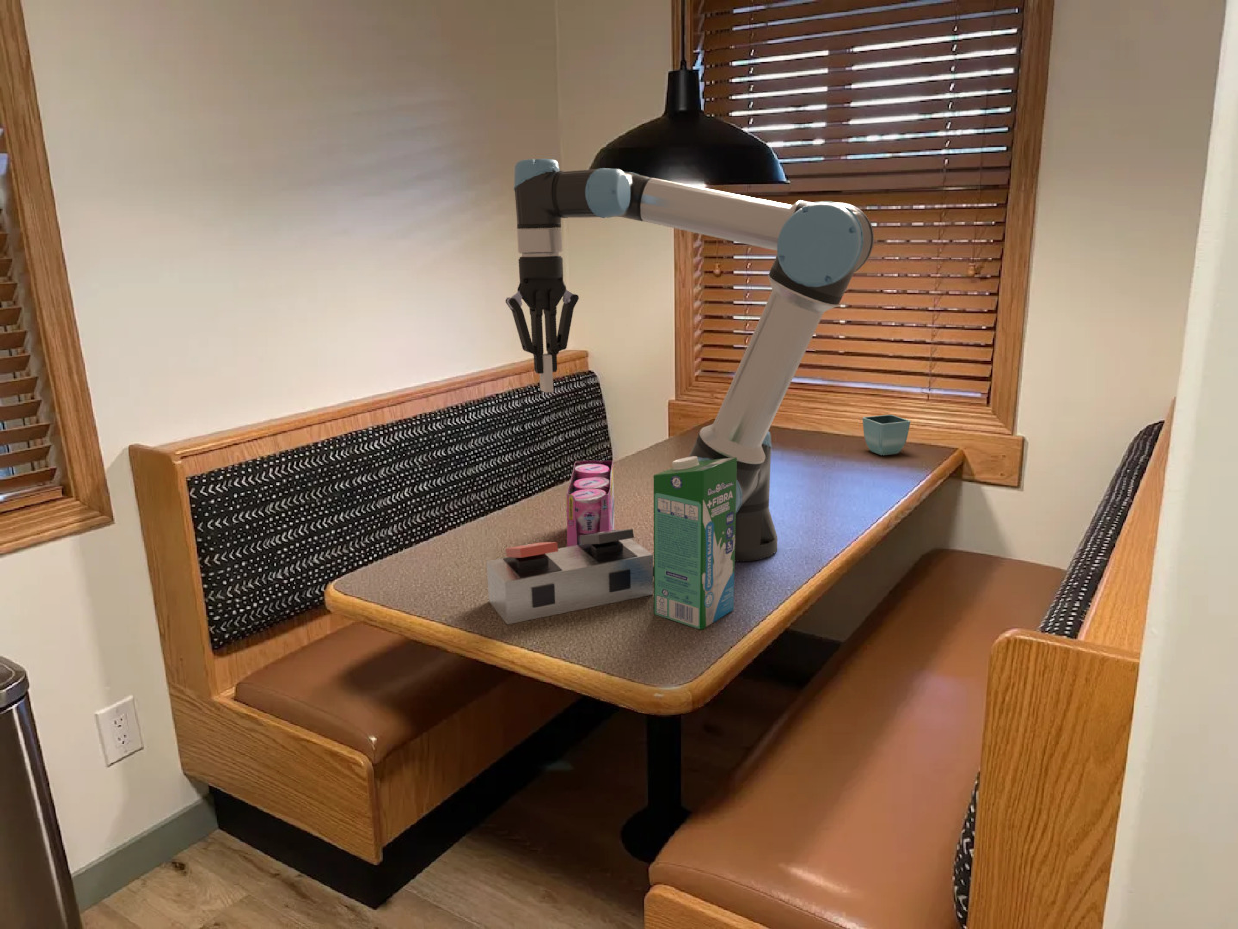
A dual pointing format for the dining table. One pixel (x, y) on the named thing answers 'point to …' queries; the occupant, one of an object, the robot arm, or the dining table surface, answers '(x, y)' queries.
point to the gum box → (590, 500)
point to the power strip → (569, 579)
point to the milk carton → (695, 540)
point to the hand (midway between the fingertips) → (546, 390)
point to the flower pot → (885, 433)
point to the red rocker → (531, 549)
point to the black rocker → (607, 536)
